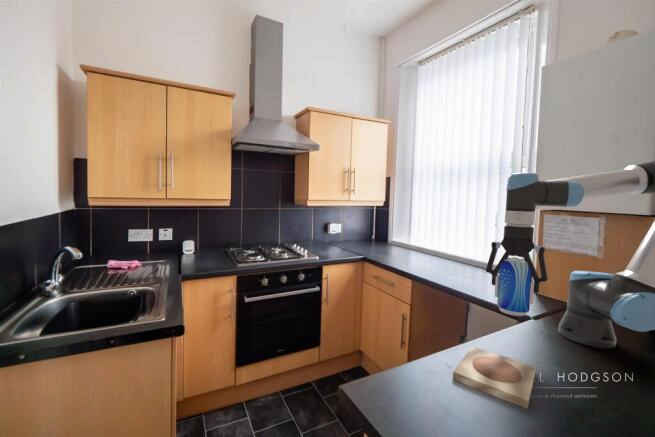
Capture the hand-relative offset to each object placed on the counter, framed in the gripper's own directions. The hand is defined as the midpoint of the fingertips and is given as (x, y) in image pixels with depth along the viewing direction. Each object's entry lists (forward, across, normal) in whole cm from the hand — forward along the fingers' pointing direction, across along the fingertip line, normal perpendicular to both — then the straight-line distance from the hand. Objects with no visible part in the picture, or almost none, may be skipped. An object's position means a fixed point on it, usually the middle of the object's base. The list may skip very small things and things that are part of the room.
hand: (513, 299), depth 92 cm
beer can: (+4, 0, 0) cm, 4 cm away
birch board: (+16, 0, -19) cm, 25 cm away
